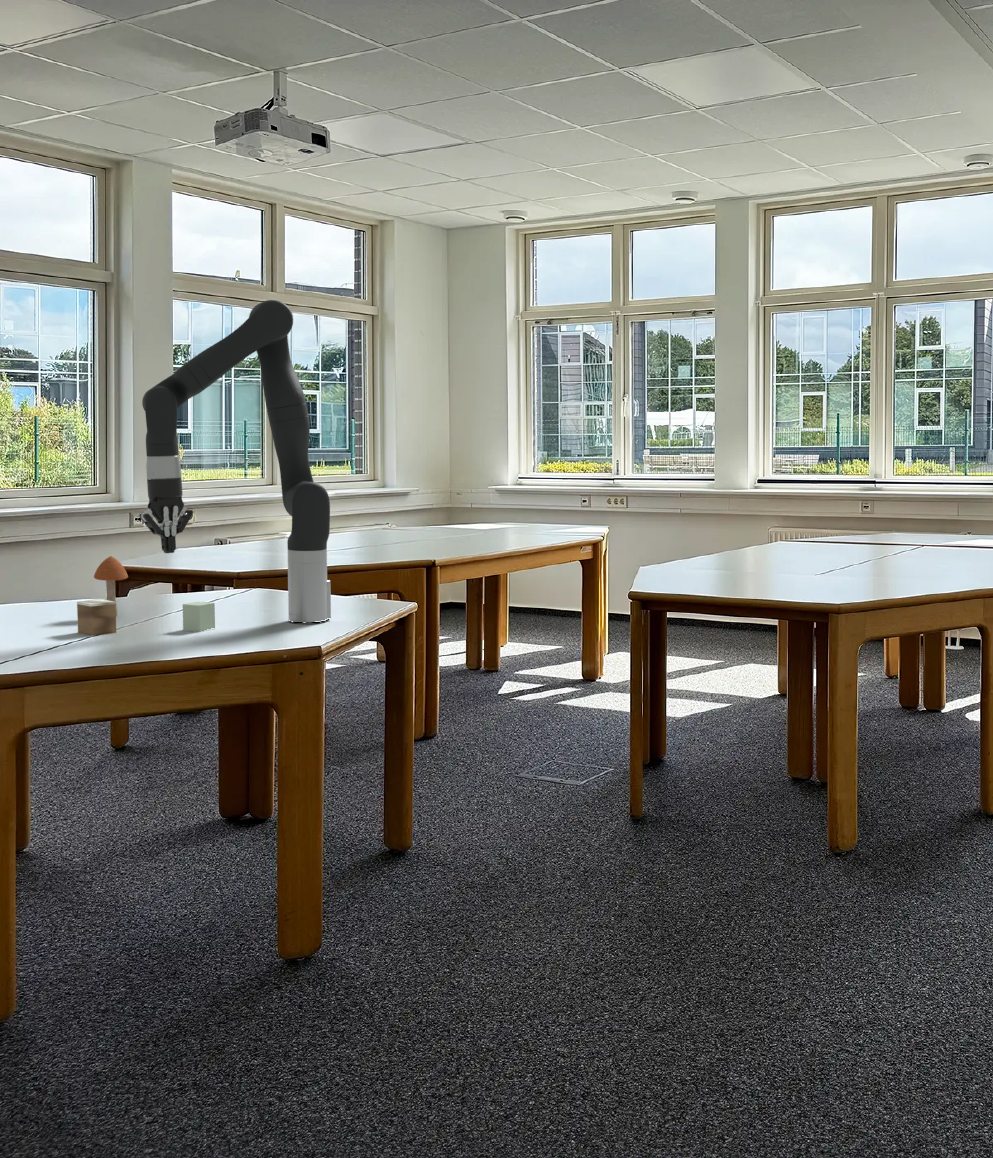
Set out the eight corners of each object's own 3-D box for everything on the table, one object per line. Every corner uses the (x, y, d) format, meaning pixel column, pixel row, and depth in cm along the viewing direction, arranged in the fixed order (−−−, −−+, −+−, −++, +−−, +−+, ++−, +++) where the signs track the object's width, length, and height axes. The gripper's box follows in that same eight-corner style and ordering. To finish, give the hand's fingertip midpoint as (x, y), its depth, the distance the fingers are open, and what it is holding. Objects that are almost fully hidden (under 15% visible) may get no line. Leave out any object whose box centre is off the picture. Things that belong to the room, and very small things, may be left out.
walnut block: (77, 601, 263) (78, 632, 264) (90, 604, 259) (91, 635, 260) (101, 599, 267) (102, 629, 268) (115, 601, 263) (116, 632, 264)
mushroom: (118, 620, 282) (116, 557, 281) (88, 619, 284) (86, 557, 282) (135, 615, 290) (133, 554, 288) (105, 614, 292) (103, 554, 290)
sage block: (198, 627, 272) (197, 601, 272) (215, 629, 270) (214, 603, 269) (183, 630, 268) (182, 604, 267) (200, 632, 266) (199, 605, 265)
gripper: (180, 474, 273) (185, 549, 275) (128, 477, 264) (134, 554, 266) (198, 475, 268) (203, 551, 270) (146, 478, 259) (151, 556, 261)
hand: (169, 552), depth 268 cm, fingers closed
